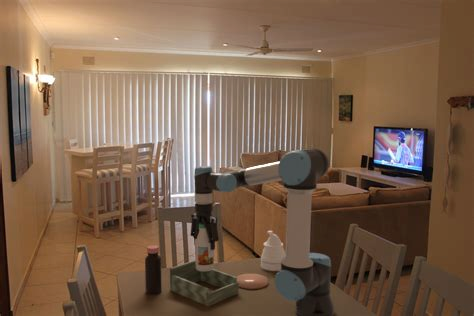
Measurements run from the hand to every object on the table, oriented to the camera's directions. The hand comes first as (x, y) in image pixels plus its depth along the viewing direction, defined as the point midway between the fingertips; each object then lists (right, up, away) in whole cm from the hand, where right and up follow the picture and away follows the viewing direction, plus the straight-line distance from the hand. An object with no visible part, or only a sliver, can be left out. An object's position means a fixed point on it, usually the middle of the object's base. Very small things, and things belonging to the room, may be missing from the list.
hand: (204, 254), depth 196 cm
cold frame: (0, -16, +2) cm, 17 cm away
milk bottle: (0, -6, +1) cm, 6 cm away
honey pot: (+32, -13, +34) cm, 49 cm away
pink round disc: (+20, -15, +13) cm, 29 cm away
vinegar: (-22, -17, +2) cm, 28 cm away
